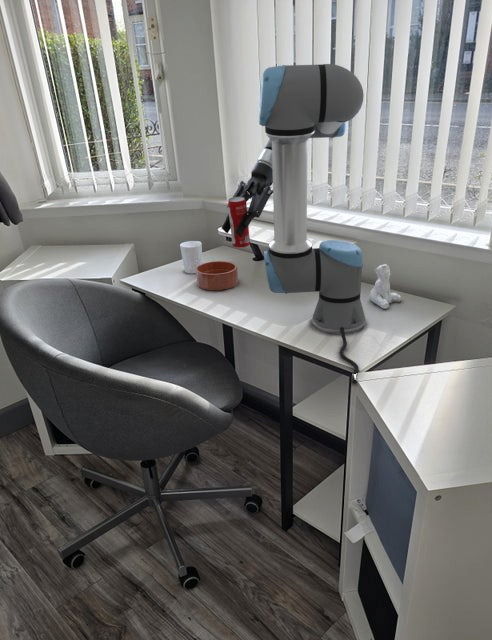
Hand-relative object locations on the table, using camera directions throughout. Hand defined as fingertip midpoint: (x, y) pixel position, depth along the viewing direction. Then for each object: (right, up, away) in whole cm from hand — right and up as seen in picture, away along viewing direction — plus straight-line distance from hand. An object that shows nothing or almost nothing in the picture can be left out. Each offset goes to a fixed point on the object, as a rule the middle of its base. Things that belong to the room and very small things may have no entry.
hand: (231, 232), depth 169 cm
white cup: (-16, -4, +33) cm, 37 cm away
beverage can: (+3, -3, +5) cm, 7 cm away
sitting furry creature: (+47, -22, +1) cm, 52 cm away
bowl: (-6, -12, +20) cm, 24 cm away
